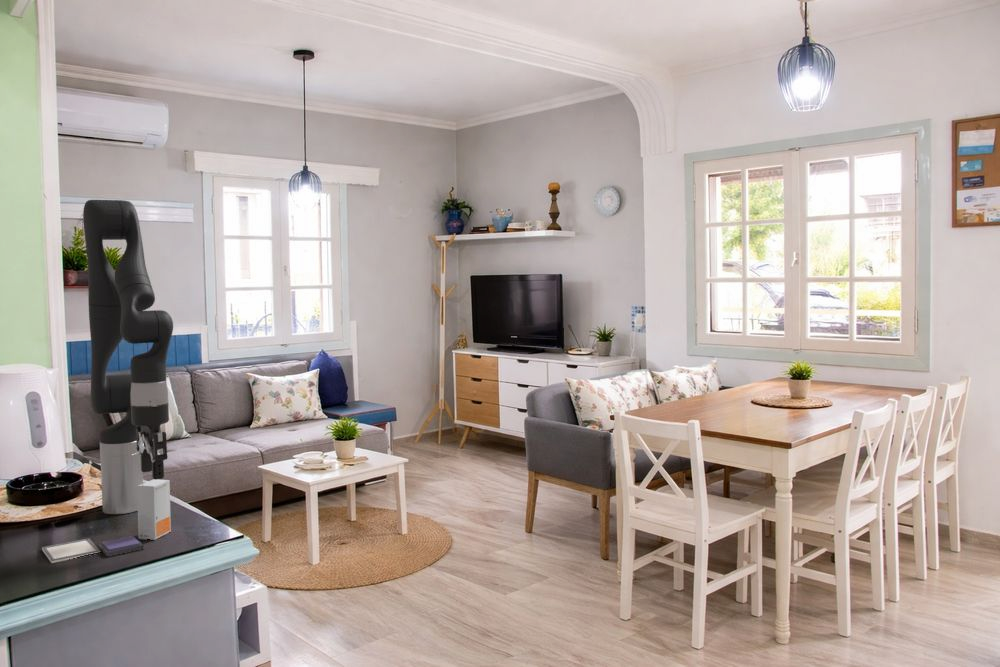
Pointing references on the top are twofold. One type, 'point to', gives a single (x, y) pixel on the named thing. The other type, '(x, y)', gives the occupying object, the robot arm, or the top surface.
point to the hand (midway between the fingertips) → (152, 475)
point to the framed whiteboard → (70, 550)
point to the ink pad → (120, 545)
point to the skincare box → (153, 509)
